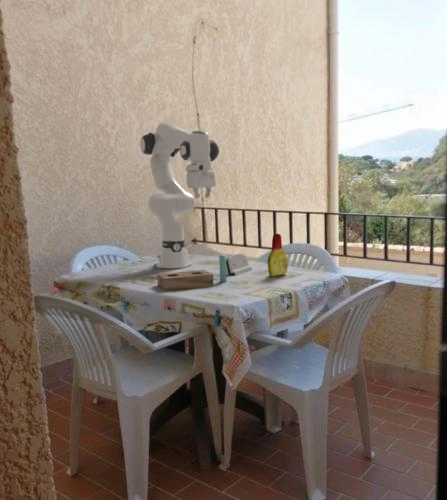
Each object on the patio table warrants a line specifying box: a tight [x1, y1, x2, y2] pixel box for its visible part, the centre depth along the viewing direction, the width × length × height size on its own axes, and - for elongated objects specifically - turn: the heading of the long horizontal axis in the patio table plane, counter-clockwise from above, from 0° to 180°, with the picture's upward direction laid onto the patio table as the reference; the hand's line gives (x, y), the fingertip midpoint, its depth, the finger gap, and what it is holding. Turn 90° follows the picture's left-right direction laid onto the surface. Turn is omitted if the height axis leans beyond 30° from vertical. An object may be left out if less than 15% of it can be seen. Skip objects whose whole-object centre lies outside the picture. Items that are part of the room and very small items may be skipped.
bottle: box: [267, 233, 288, 277], centre depth 243 cm, size 12×6×20 cm, turn 131°
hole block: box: [156, 269, 214, 292], centre depth 227 cm, size 12×22×5 cm, turn 112°
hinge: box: [226, 253, 253, 276], centre depth 255 cm, size 17×5×10 cm, turn 147°
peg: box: [218, 254, 228, 283], centre depth 233 cm, size 3×3×12 cm
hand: (202, 197), depth 235 cm, fingers open, 8 cm apart
